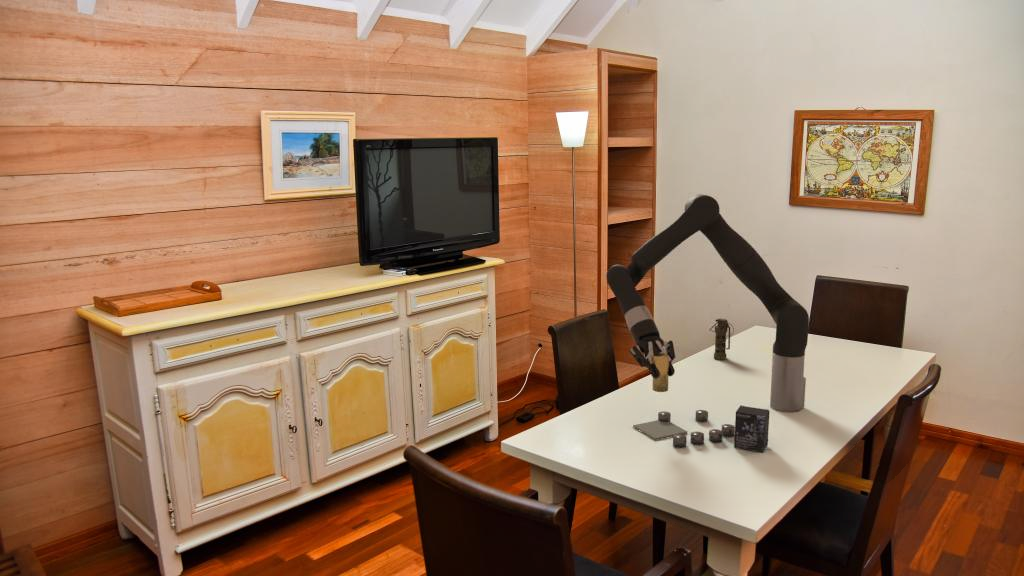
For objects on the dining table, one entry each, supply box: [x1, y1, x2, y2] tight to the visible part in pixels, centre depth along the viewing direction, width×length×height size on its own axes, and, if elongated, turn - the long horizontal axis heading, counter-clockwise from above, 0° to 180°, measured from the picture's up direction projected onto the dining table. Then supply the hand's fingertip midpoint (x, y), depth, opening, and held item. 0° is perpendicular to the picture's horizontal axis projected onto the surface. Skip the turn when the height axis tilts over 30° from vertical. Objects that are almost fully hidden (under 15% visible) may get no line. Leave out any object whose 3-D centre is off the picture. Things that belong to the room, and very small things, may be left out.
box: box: [733, 405, 771, 454], centre depth 210 cm, size 8×6×11 cm
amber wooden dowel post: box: [652, 353, 670, 393], centre depth 220 cm, size 4×4×10 cm
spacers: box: [657, 409, 735, 449], centre depth 223 cm, size 21×22×2 cm
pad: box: [632, 419, 688, 441], centre depth 224 cm, size 11×11×1 cm
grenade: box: [709, 318, 735, 361], centre depth 288 cm, size 9×6×15 cm, turn 50°
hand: (664, 375), depth 219 cm, fingers closed on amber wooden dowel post, 4 cm apart
